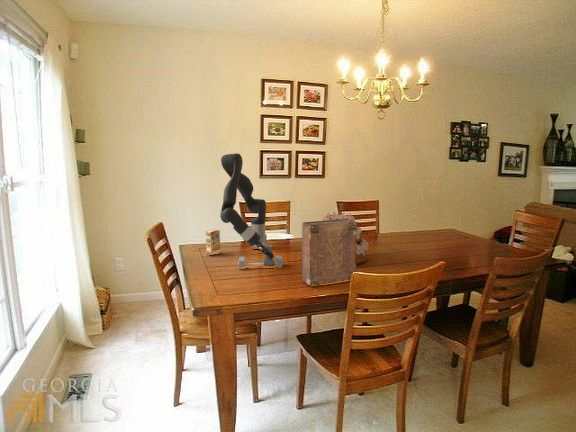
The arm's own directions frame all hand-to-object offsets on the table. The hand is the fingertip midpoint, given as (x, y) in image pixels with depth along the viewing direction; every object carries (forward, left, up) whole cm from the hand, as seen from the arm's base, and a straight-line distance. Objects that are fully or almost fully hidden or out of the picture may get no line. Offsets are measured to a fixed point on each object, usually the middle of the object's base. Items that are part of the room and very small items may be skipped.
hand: (272, 256), depth 206 cm
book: (-9, +37, -6) cm, 38 cm away
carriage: (+2, -1, -5) cm, 5 cm away
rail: (+6, -3, -6) cm, 9 cm away
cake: (-41, +10, -6) cm, 43 cm away
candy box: (+16, -43, -6) cm, 47 cm away
